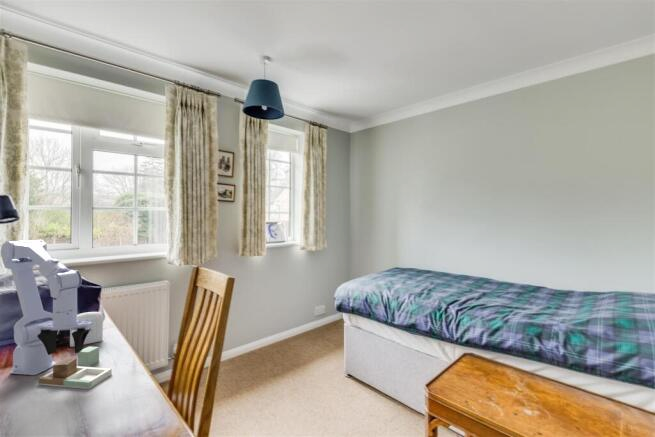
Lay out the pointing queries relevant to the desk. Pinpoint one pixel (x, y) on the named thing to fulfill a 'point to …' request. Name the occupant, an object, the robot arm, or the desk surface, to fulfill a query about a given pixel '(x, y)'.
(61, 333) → the webcam
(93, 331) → the photo printer
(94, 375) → the slot board
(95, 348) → the sage block
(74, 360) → the walnut block
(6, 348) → the desk surface
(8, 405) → the desk surface
